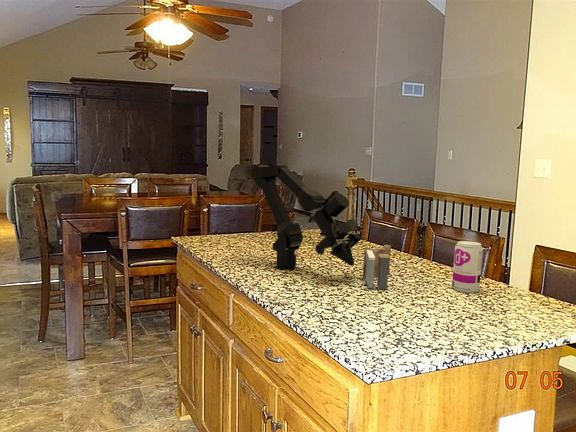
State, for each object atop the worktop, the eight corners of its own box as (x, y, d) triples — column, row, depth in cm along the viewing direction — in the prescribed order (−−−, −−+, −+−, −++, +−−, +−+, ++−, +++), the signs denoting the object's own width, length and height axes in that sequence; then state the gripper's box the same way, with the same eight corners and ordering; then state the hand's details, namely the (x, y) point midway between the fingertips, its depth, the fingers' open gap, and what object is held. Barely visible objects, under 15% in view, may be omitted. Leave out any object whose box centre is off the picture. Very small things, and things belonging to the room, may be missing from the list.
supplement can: (465, 294, 164) (469, 245, 162) (446, 287, 171) (449, 241, 169) (484, 292, 168) (489, 244, 166) (465, 285, 175) (468, 240, 173)
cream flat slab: (364, 279, 177) (366, 250, 176) (370, 279, 177) (372, 250, 175) (367, 288, 165) (369, 257, 164) (373, 289, 165) (375, 257, 164)
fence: (368, 280, 177) (370, 250, 175) (360, 278, 178) (362, 249, 177) (391, 273, 187) (392, 245, 186) (383, 272, 189) (385, 244, 188)
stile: (376, 287, 168) (378, 253, 167) (385, 287, 168) (387, 254, 167) (378, 289, 165) (380, 255, 164) (387, 289, 166) (389, 255, 164)
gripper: (325, 212, 165) (351, 254, 160) (359, 208, 179) (385, 247, 174) (303, 233, 172) (329, 274, 166) (338, 228, 185) (363, 266, 180)
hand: (352, 264), depth 171 cm, fingers closed
